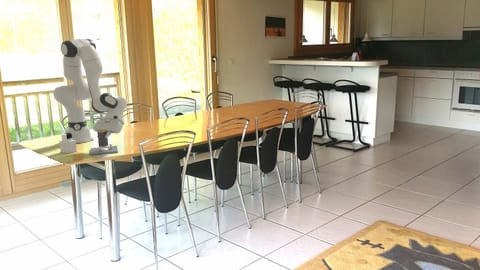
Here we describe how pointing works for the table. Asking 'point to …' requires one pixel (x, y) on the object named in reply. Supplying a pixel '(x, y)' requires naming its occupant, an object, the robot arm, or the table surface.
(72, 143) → the medicine bottle
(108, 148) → the pin dock
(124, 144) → the table surface
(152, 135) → the table surface
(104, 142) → the plug housing
